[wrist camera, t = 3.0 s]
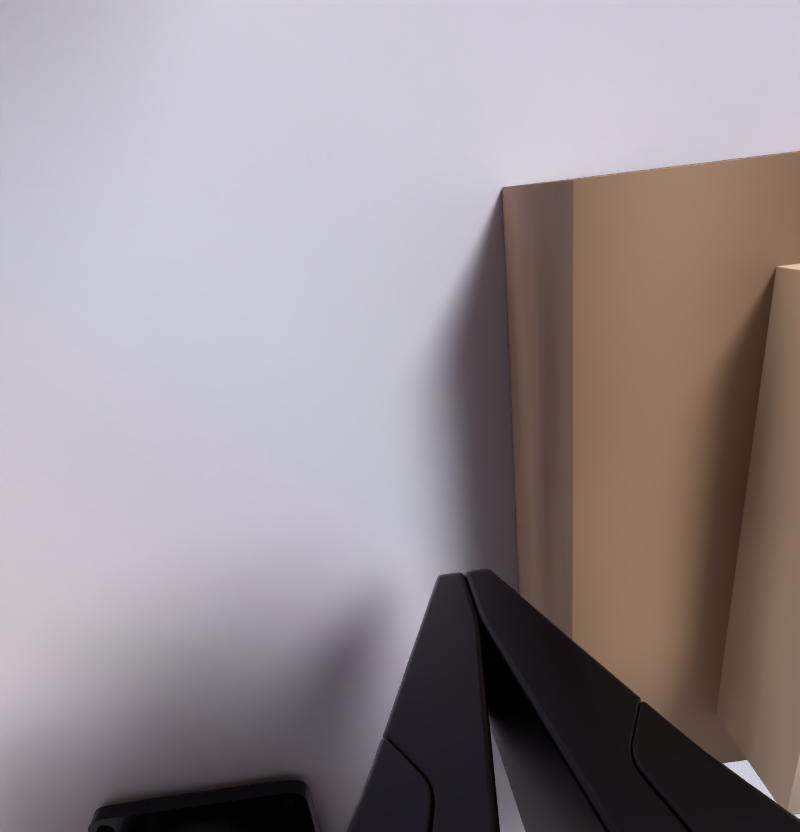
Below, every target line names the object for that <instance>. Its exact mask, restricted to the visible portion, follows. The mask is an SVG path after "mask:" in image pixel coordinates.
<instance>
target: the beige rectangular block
mask: <svg viewBox="0 0 800 832" xmlns="http://www.w3.org/2000/svg"><path fill="white" fill-rule="evenodd" d="M716 715H717V717H718V718H719V720H720V721H721V723H722V724H723V726H724V727H725V728H726V730H727V731H728V733H729V734H730V736H731V737H732V738H733V740H734V741H735V743H736V744H737V746H738V747H739V749H740V750H741V751H742V753H743V754H744V756H745V757H746V759H747V760H748V762H749V763H750V764H751V766H752V767H753V769H754V770H755V772H756V773H757V775H758V776H759V777H760V779H761V780H762V782H763V783H764V785H765V786H766V788H767V789H768V790H769V792H770V793H771V795H772V796H773V798H774V799H775V801H776V802H777V803H778V804H779V805H780V806H782V807H783V808H784V809H786V810H787V811H789V812H790V813H792V814H793V815H794V814H800V264H792V265H784V266H776V273H775V281H774V288H773V295H772V303H771V310H770V318H769V325H768V333H767V340H766V347H765V355H764V362H763V370H762V377H761V385H760V392H759V399H758V407H757V414H756V422H755V429H754V437H753V444H752V451H751V459H750V466H749V474H748V481H747V489H746V496H745V503H744V511H743V518H742V526H741V533H740V541H739V548H738V555H737V563H736V570H735V578H734V585H733V593H732V600H731V607H730V615H729V622H728V630H727V637H726V645H725V652H724V659H723V667H722V674H721V682H720V689H719V697H718V704H717V711H716Z"/></svg>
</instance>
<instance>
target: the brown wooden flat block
mask: <svg viewBox="0 0 800 832" xmlns="http://www.w3.org/2000/svg"><path fill="white" fill-rule="evenodd" d="M502 193H503V217H504V241H505V265H506V289H507V312H508V336H509V360H510V384H511V408H512V432H513V456H514V480H515V504H516V528H517V552H518V576H519V595H520V596H522V597H523V598H524V599H525V600H526V601H527V602H529V603H530V604H531V605H532V606H533V607H534V608H536V609H537V610H538V611H539V612H540V613H542V614H543V615H544V616H545V617H546V618H547V619H549V620H550V621H551V622H552V623H553V624H554V625H556V626H557V627H558V628H559V629H560V630H561V631H563V632H564V633H565V634H566V635H567V636H568V637H570V638H571V639H572V640H573V641H574V642H576V643H577V644H578V645H579V646H580V647H581V648H583V649H584V650H585V651H586V652H587V653H588V654H590V655H591V656H592V657H593V658H594V659H595V660H597V661H598V662H599V663H600V664H601V665H603V666H604V667H605V668H606V669H607V670H608V671H610V672H611V673H612V674H613V675H614V676H615V677H617V678H618V679H619V680H620V681H621V682H622V683H624V684H625V685H626V686H627V687H628V688H630V689H631V690H632V691H633V692H634V693H635V694H637V695H638V696H639V697H640V698H641V702H646V703H647V704H649V705H650V706H651V707H652V708H653V709H654V710H656V711H657V712H658V713H659V714H660V715H662V716H663V717H664V718H665V719H666V720H667V721H669V722H670V723H671V724H672V725H674V726H675V727H676V728H677V729H679V730H680V731H681V732H682V733H683V734H685V735H686V736H687V737H688V738H690V739H691V740H692V741H693V742H695V743H696V744H697V745H698V746H699V747H701V748H702V749H703V750H705V751H706V752H707V753H709V754H710V755H711V756H713V757H714V758H715V759H717V760H718V761H719V762H721V763H728V762H735V761H742V760H747V759H746V757H745V756H744V754H743V753H742V751H741V750H740V749H739V747H738V746H737V744H736V743H735V741H734V740H733V738H732V737H731V736H730V734H729V733H728V731H727V730H726V728H725V727H724V726H723V724H722V723H721V721H720V720H719V718H718V717H717V715H716V711H717V704H718V697H719V689H720V682H721V674H722V667H723V659H724V652H725V645H726V637H727V630H728V622H729V615H730V607H731V600H732V593H733V585H734V578H735V570H736V563H737V555H738V548H739V541H740V533H741V526H742V518H743V511H744V503H745V496H746V489H747V481H748V474H749V466H750V459H751V451H752V444H753V437H754V429H755V422H756V414H757V407H758V399H759V392H760V385H761V377H762V370H763V362H764V355H765V347H766V340H767V333H768V325H769V318H770V310H771V303H772V295H773V288H774V281H775V273H776V266H784V265H792V264H800V151H796V152H788V153H780V154H772V155H764V156H755V157H747V158H739V159H731V160H723V161H715V162H706V163H698V164H690V165H682V166H674V167H666V168H658V169H649V170H641V171H633V172H625V173H617V174H609V175H600V176H592V177H584V178H576V179H568V180H560V181H551V182H543V183H535V184H527V185H519V186H511V187H502Z"/></svg>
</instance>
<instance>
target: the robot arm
mask: <svg viewBox="0 0 800 832" xmlns="http://www.w3.org/2000/svg"><path fill="white" fill-rule="evenodd" d="M490 725H491V728H492V731H493V735H494V738H495V741H496V744H497V747H498V750H499V753H500V756H501V759H502V762H503V765H504V768H505V771H506V774H507V777H508V780H509V783H510V786H511V789H512V792H513V795H514V798H515V801H516V804H517V807H518V810H519V813H520V816H521V819H522V822H523V825H524V828H525V831H526V832H800V819H799V818H797V817H796V816H794V815H793V814H792V813H790V812H789V811H787V810H786V809H784V808H783V807H782V806H780V805H779V804H777V803H776V802H775V801H773V800H772V799H770V798H769V797H768V796H766V795H765V794H763V793H762V792H761V791H759V790H758V789H756V788H755V787H753V786H752V785H751V784H749V783H748V782H746V781H745V780H744V779H742V778H741V777H740V776H738V775H737V774H736V773H734V772H733V771H732V770H730V769H729V768H728V767H726V766H725V765H724V764H722V763H721V762H719V761H718V760H717V759H715V758H714V757H713V756H711V755H710V754H709V753H707V752H706V751H705V750H703V749H702V748H701V747H699V746H698V745H697V744H696V743H695V742H693V741H692V740H691V739H690V738H688V737H687V736H686V735H685V734H683V733H682V732H681V731H680V730H679V729H677V728H676V727H675V726H674V725H672V724H671V723H670V722H669V721H667V720H666V719H665V718H664V717H663V716H662V715H660V714H659V713H658V712H657V711H656V710H654V709H653V708H652V707H651V706H650V705H649V704H647V703H646V702H641V698H640V697H639V696H638V695H637V694H635V693H634V692H633V691H632V690H631V689H630V688H628V687H627V686H626V685H625V684H624V683H622V682H621V681H620V680H619V679H618V678H617V677H615V676H614V675H613V674H612V673H611V672H610V671H608V670H607V669H606V668H605V667H604V666H603V665H601V664H600V663H599V662H598V661H597V660H595V659H594V658H593V657H592V656H591V655H590V654H588V653H587V652H586V651H585V650H584V649H583V648H581V647H580V646H579V645H578V644H577V643H576V642H574V641H573V640H572V639H571V638H570V637H568V636H567V635H566V634H565V633H564V632H563V631H561V630H560V629H559V628H558V627H557V626H556V625H554V624H553V623H552V622H551V621H550V620H549V619H547V618H546V617H545V616H544V615H543V614H542V613H540V612H539V611H538V610H537V609H536V608H534V607H533V606H532V605H531V604H530V603H529V602H527V601H526V600H525V599H524V598H523V597H522V596H520V595H519V594H518V593H517V592H516V591H515V590H513V589H512V588H511V587H510V586H509V585H507V584H506V583H505V582H504V581H503V580H502V579H500V578H499V577H498V576H497V575H496V574H495V573H493V572H492V571H491V570H489V569H480V570H472V571H467V572H466V573H465V574H464V575H463V574H462V573H460V572H458V573H450V574H443V575H440V576H438V578H437V580H436V583H435V586H434V589H433V592H432V595H431V597H430V600H429V603H428V606H427V609H426V612H425V615H424V618H423V621H422V624H421V626H420V629H419V632H418V635H417V638H416V641H415V644H414V647H413V650H412V653H411V656H410V658H409V661H408V664H407V667H406V670H405V673H404V676H403V679H402V682H401V685H400V687H399V690H398V693H397V696H396V699H395V702H394V705H393V708H392V711H391V714H390V716H389V719H388V722H387V725H386V728H385V731H384V734H383V739H382V740H381V742H380V745H379V748H378V750H377V753H376V756H375V759H374V762H373V765H372V767H371V770H370V773H369V775H368V778H367V780H366V783H365V786H364V788H363V791H362V793H361V796H360V799H359V801H358V803H357V805H356V808H355V810H354V812H353V814H352V816H351V819H350V821H349V823H348V825H347V827H346V830H345V832H500V826H499V816H498V806H497V795H496V785H495V774H494V764H493V753H492V743H491V732H490ZM88 832H320V830H319V826H318V822H317V818H316V814H315V810H314V806H313V802H312V799H311V795H310V791H309V788H308V786H307V784H305V783H304V782H302V781H300V780H283V781H276V782H269V783H262V784H255V785H248V786H241V787H234V788H227V789H220V790H213V791H206V792H199V793H192V794H185V795H178V796H171V797H164V798H157V799H150V800H143V801H136V802H130V803H123V804H116V805H109V806H104V807H101V808H99V809H98V810H96V812H95V814H94V816H93V818H92V821H91V823H90V825H89V828H88Z"/></svg>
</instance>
